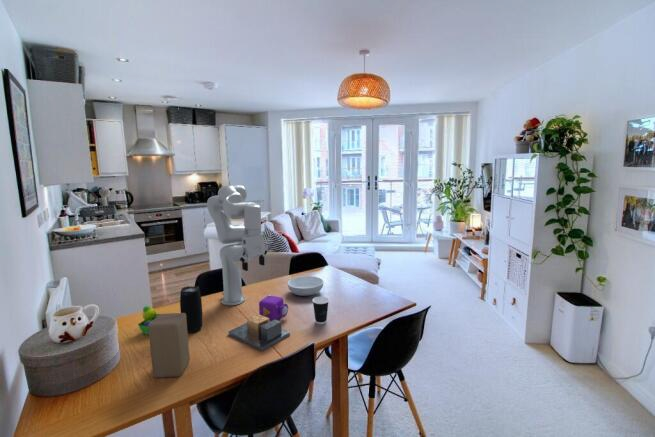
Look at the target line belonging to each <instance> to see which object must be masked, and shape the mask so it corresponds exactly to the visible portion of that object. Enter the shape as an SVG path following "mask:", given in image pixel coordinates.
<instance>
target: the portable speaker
mask: <svg viewBox="0 0 655 437" xmlns="http://www.w3.org/2000/svg"><path fill="white" fill-rule="evenodd" d="M200 290H201V289H200V287H199V286H197V285H196V286H184V287H182V288H181V290H180V295H179V310H180V313H186V319H187V332H191V334H195V333H198V332H199V331H201V329H202V327H203V305H202V304H203V303H202V297H201V295H202V294H201V291H200Z"/></svg>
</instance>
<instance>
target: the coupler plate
mask: <svg viewBox="0 0 655 437" xmlns="http://www.w3.org/2000/svg"><path fill="white" fill-rule="evenodd" d="M228 336H231V337H232V338H235V339H236V340H239V341H241V342H242V343H244V344H247V345H249V346H251V347H252V348H255V349H257V350H259V351H261V352H263V351H265V350H267V349H268V348H270V347H272V346H274V345H275V344H277V343H278V342H281V341H282V340H285V339H286V338H287V337H290V336H291V331H288V330H286V329H284V328H282V321H280V320H279V319H277V320H275V319H274V320H272V321H270V320H269V322H268V323H266V324H262V325H260V337H257V336H255V335H253V334H251V333H249V332H248V322H247V321H246V322H245V323H243V324H241V325H240V326H237V327H235V328H233V329H231V330H229V331H228Z"/></svg>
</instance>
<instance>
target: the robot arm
mask: <svg viewBox="0 0 655 437" xmlns="http://www.w3.org/2000/svg"><path fill="white" fill-rule="evenodd" d="M247 193H248V192H247V189H246V188H245V187H244V186H243V185H241V184H238V185H234V184H233V185H223V186H221V187H220V188H219V190H218V192H217V195H213V196H210V197H209V198H208V199H207V201H206V205H207V210H208V213H209V215H210V217H211V219H212V221H213V222H214V226H215V230H216V233H217V237H218V241H219V243H221V244H222V245H224V246H222V247H221V248H220V250H219V258H220V263H221V267H222V280H223V281H222V284H223V291H222V292H221V295H222V296H223V298H222V299H221V301H220V302H221V304H222V305H224V306H236V305H240V304H243V303H244V302H245V300H246V297H245V296H244V295H243V289H242V287H243V285H242V284H243V283H242V270H243V271H246V272H248V271H249V263H248V260H251V259H253V258H256V257H258V264H259V265H260V266H265V264H266V263H265V258H266V257H267V256H266V255H267V253H268V250H269V246H267V245H265V238H264V234H263V233H262V207H261V205H259V204H257V203H255V201H254V202H253V201H246V199H247V197H248V196H247V195H248V194H247ZM241 219H243V225H241V224H240V225H238V224H237V225H232V220H241ZM238 262H241V268H242V270H241V268H240V266H239V265H238V264H237V263H238Z"/></svg>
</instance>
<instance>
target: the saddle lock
mask: <svg viewBox="0 0 655 437" xmlns="http://www.w3.org/2000/svg"><path fill="white" fill-rule="evenodd" d="M246 320H247V321H246V323H247V322H248V332H249V333H251V334H253V335H255V336H257V337H260V325H262V324H266V323H268V322H270V320H269V318H267V317H265V316H262V315H260V314H259V313H258V314H256V315H253V316H251V317H249V318H247V319H246Z"/></svg>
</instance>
